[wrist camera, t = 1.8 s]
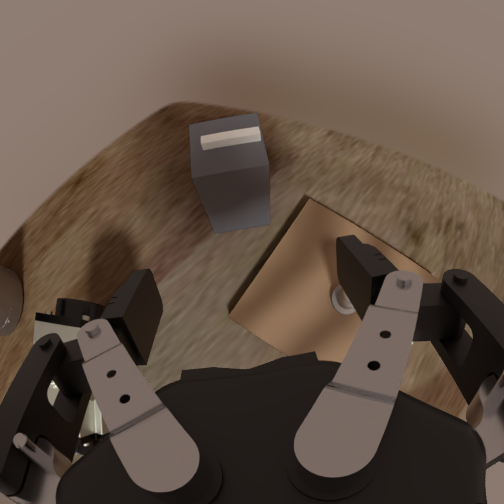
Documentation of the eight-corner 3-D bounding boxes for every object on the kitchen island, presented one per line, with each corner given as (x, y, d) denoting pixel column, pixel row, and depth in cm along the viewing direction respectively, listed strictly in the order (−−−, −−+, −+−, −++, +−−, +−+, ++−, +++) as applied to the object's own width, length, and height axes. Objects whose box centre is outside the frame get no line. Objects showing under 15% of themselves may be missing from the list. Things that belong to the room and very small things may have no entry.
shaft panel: (229, 318, 27) (218, 307, 21) (308, 204, 30) (315, 169, 24) (372, 405, 23) (398, 417, 17) (433, 282, 26) (465, 265, 20)
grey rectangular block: (215, 233, 30) (188, 171, 19) (210, 187, 32) (187, 118, 21) (270, 224, 30) (269, 158, 19) (261, 178, 31) (256, 105, 21)
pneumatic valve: (104, 424, 23) (26, 445, 12) (106, 316, 27) (28, 289, 16) (152, 434, 23) (84, 471, 12) (153, 320, 27) (83, 294, 16)
